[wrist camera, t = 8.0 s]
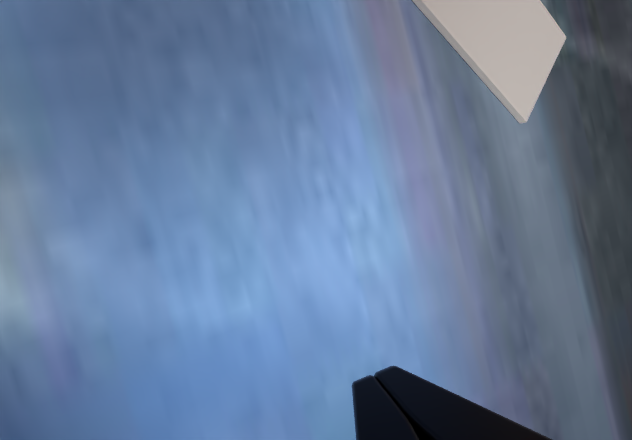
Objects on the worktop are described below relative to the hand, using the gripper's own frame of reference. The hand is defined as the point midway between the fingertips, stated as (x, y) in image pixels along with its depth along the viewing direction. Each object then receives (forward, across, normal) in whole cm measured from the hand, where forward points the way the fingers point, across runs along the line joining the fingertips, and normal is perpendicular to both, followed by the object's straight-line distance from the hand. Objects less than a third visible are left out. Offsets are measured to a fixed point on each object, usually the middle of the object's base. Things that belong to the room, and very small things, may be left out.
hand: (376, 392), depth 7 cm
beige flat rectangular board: (+19, -17, -9) cm, 27 cm away
